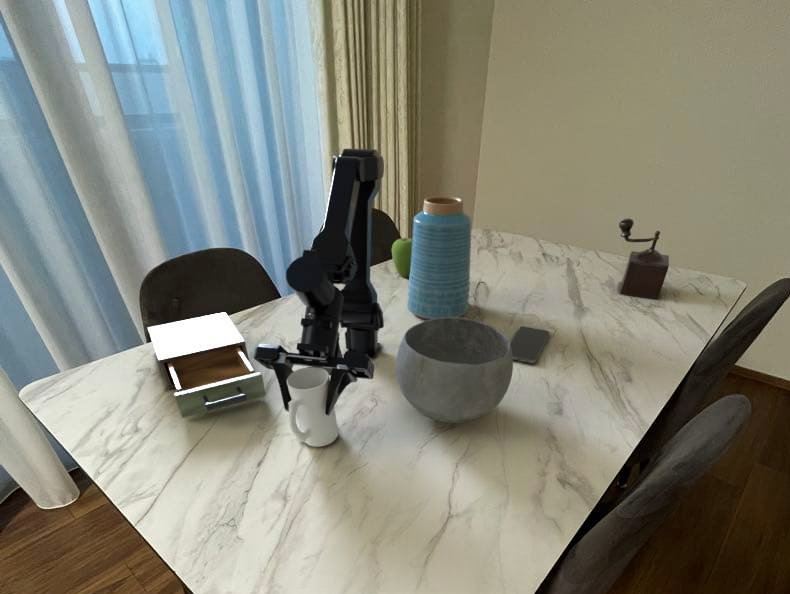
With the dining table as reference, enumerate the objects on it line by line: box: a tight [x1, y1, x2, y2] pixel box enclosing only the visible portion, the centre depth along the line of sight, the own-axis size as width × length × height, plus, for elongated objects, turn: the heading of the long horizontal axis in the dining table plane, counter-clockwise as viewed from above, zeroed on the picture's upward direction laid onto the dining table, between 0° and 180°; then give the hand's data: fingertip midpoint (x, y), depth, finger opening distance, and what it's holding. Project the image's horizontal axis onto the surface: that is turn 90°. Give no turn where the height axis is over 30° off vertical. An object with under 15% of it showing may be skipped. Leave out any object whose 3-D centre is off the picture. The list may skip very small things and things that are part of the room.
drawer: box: [167, 346, 267, 419], centre depth 90 cm, size 20×15×5 cm
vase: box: [406, 195, 473, 321], centre depth 117 cm, size 16×16×27 cm
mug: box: [287, 366, 339, 448], centre depth 77 cm, size 10×7×12 cm, turn 157°
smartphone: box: [510, 325, 550, 364], centre depth 109 cm, size 7×1×16 cm
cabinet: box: [146, 311, 251, 390], centre depth 101 cm, size 17×17×7 cm
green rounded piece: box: [391, 236, 412, 278], centre depth 142 cm, size 9×8×12 cm
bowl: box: [395, 317, 514, 424], centre depth 85 cm, size 20×20×15 cm
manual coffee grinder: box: [618, 218, 670, 300], centre depth 133 cm, size 16×11×18 cm
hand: (307, 412), depth 75 cm, fingers closed on mug, 6 cm apart
